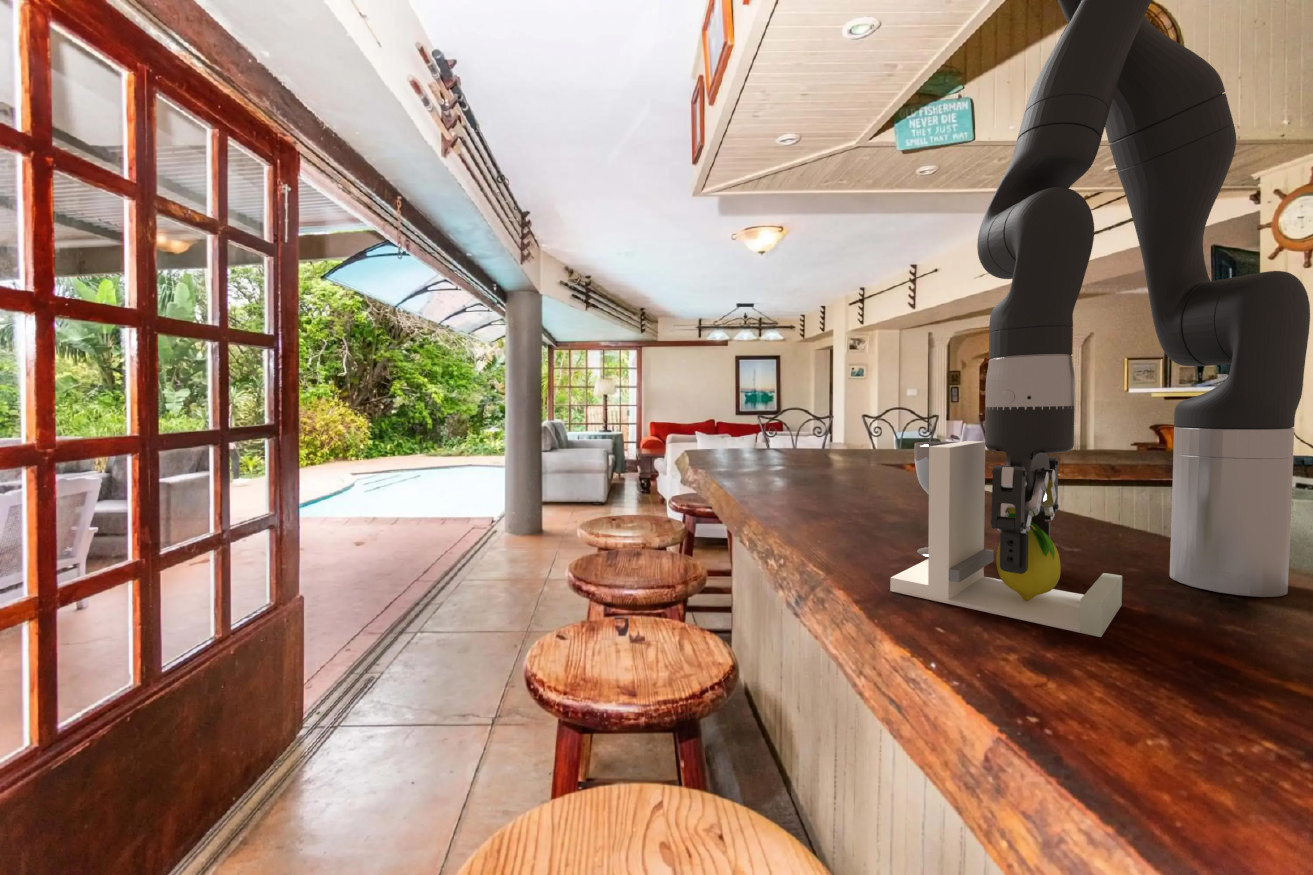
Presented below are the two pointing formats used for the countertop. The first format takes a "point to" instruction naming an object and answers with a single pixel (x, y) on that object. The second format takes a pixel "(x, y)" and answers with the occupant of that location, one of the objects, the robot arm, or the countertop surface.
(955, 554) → the white lipped stand
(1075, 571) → the countertop surface
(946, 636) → the countertop surface
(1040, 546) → the lemon
